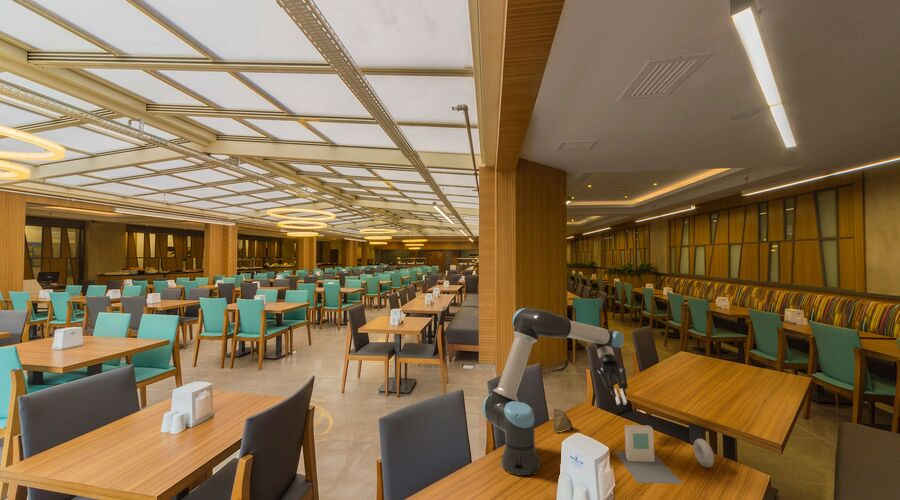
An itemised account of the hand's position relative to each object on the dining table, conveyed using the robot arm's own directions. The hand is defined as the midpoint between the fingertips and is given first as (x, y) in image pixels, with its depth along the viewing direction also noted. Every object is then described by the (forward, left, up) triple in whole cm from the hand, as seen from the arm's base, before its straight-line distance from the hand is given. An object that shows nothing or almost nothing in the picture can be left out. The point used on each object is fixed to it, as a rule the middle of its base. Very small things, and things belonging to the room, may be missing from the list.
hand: (622, 403), depth 162 cm
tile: (+13, -9, -17) cm, 23 cm away
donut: (+28, +9, -17) cm, 35 cm away
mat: (+17, -12, -17) cm, 27 cm away
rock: (-23, -14, -17) cm, 32 cm away
